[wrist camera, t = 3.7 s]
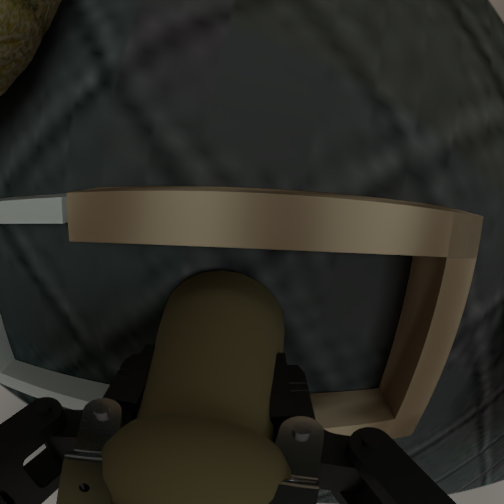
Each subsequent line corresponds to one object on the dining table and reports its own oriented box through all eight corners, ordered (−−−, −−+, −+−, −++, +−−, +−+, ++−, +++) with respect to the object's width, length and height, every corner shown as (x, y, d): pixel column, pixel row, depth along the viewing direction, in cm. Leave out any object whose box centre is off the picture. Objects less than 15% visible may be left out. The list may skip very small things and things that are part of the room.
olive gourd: (236, 392, 16) (225, 579, 5) (143, 334, 15) (44, 513, 4) (310, 317, 14) (382, 533, 4) (206, 243, 13) (93, 452, 3)
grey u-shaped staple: (82, 192, 13) (61, 197, 11) (113, 397, 17) (103, 417, 15) (-27, 201, 13) (-47, 205, 11) (10, 368, 16) (-3, 381, 15)
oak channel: (448, 206, 14) (483, 216, 11) (395, 406, 17) (411, 435, 14) (99, 187, 13) (66, 192, 10) (128, 403, 17) (114, 434, 14)
